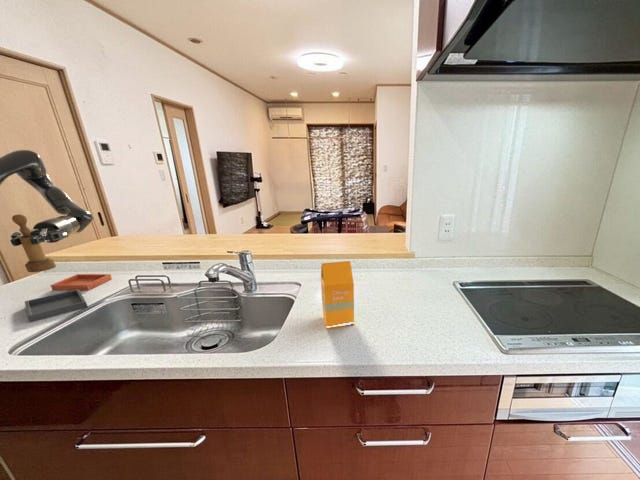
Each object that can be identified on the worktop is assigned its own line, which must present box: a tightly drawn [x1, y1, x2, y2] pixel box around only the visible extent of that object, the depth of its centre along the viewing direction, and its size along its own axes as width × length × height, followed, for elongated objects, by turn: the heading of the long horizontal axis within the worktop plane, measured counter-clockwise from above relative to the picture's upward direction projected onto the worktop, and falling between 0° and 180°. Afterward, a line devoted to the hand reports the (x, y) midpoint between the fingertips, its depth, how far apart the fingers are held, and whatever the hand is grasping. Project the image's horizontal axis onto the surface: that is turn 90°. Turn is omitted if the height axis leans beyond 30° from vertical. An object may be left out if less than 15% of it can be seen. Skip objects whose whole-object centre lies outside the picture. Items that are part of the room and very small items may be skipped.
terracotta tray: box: [49, 273, 113, 291], centre depth 119 cm, size 14×12×2 cm
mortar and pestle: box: [11, 214, 57, 273], centre depth 94 cm, size 7×6×18 cm
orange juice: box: [320, 260, 355, 330], centre depth 91 cm, size 8×9×20 cm
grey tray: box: [24, 289, 89, 323], centre depth 101 cm, size 16×14×2 cm
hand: (23, 242), depth 92 cm, fingers closed on mortar and pestle, 4 cm apart
